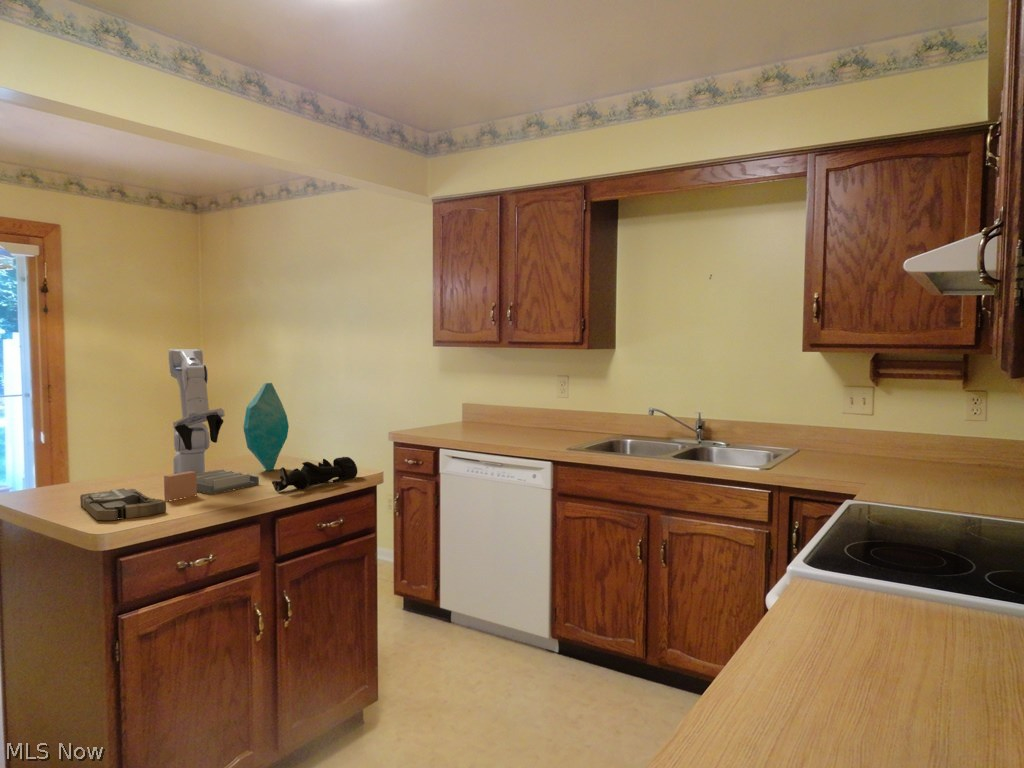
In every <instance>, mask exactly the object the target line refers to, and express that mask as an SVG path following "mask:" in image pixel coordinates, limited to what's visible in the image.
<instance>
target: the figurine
mask: <svg viewBox="0 0 1024 768" xmlns="http://www.w3.org/2000/svg"><path fill="white" fill-rule="evenodd" d="M332 462H333V463H331V462H329V460H327V459H326V458H322V462H319V461H318V463H317V465H316V464H314V463H312V462H310V461H304V462H302V463H301V464H302V465H303V466H302V467H301V469H299V468H294V469H293V470H292V471H290V472H289V473H288V472H287V470H286V468H285V467H281V468H280V477H279V479H280V480H272V481H271V483H272V486H273V488H274V490H275V491H274V492H282V491H283V490H286V488H288V487H289V486H293V487H294V488H296V489H297V490H305V489H306V488H307V487H308V486H309V485H316V484H322V483H327V482H330V481H332V483H333V484H336V483H340V482H344V481H349V480H353V479H355V478H356V477H357V475H358V467H357V464H356V462H355V461H354V460H353V459H352V458H351V457H348V456H342V457H336V458H334V459H333V461H332Z"/></svg>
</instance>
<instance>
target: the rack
mask: <svg viewBox="0 0 1024 768" xmlns="http://www.w3.org/2000/svg"><path fill="white" fill-rule="evenodd" d="M196 476H197V491H199V492H198V493H201V492H204V493H203V494H206V493H208V494H207V495H210V494H212V495H215V494H214V493H217V494H221V493H220V492H222V493H225V492H224V491H227V492H229V491H228V490H231V491H234V490H233V489H236V490H239V489H238V488H241V489H243V488H242V487H245V488H248V487H247V486H250V487H253V486H252V485H255V486H258V484H260V481H259V478H260V477H259V476H257V475H252V474H251V475H250V473H242V472H240V471H237V472H236V471H235V472H234V471H233V470H224V468H221V469H220V468H219V469H216V470H214V469H213V470H209V471H205V472H203V473H197V474H196Z"/></svg>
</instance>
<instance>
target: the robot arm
mask: <svg viewBox="0 0 1024 768" xmlns="http://www.w3.org/2000/svg"><path fill="white" fill-rule="evenodd" d="M203 354H204V353H203V350H202V349H201V348H197V349H196V348H195V349H194V348H191V349H189V348H185V349H184V348H178V349H177V348H170V349H169V350H168V365H169V373H170V376H171V377H172V378H174V379H176V382H177V384H178V386H179V395H180V396H179V397H180V408H181V410H180V411H181V418H180V419H178V420H176V421H173V422H172V426H173V448H174V451H176V454H175V455H174V457H173V462H172V463H173V474H177V473H182V472H188V471H194V472H196V474H197V473H203V472H206V462H205V461H206V460H205V457H206V456H205V455H206V454H205V452H206V450H208V449H209V448H210V441H211V442H212V443H218V438H219V433H220V430H221V428H222V425H223V423H224V419H223V418H224V417H225V415H226V414H225V410H224V409H223V408H216V409H210V408H209V406H210V405H209V397H208V388H207V384H208V380H209V379H208V377H209V373H208V369H207V365H206V364H204V355H203ZM205 422H207V424H208V426H207V424H205ZM208 428H209V429H208Z"/></svg>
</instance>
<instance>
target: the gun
mask: <svg viewBox="0 0 1024 768" xmlns="http://www.w3.org/2000/svg"><path fill="white" fill-rule="evenodd" d="M79 497H80V506H81V507H82V508H83V509H84V508H85V509H86V510H85V509H84V510H85V511H86V512H87V513H88V514H90V515H91V516H92V517H93V518H94V519H96V520H97V521H117V520H119V519H118V518H124V519H133V518H141V517H149V516H150V517H151V516H155V515H159V514H162V513H167V501H165V500H164V499H162V498H161V499H160V498H157V499H156V498H152V497H148V496H146V495H145V494H143V493H142V492H141V491H139V490H137V489H134V488H128V489H125V488H118V489H110V490H109V491H107V490H105V491H99V492H90V493H84V494H83V493H82V494H81V495H80V496H79Z"/></svg>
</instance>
